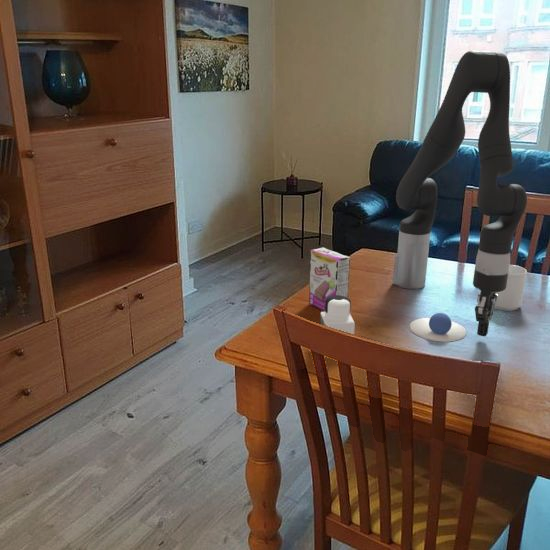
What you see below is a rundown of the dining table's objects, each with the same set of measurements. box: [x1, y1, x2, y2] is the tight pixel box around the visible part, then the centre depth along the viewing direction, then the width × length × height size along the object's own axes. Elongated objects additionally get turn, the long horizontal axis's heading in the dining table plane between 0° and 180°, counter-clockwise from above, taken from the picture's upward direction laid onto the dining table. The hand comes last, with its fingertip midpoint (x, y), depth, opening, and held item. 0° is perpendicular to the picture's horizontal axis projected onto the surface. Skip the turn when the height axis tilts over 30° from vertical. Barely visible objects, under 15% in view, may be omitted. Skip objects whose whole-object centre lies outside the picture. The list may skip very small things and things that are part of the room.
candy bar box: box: [308, 246, 351, 312], centre depth 154 cm, size 11×5×16 cm, turn 37°
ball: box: [429, 312, 452, 335], centre depth 141 cm, size 6×6×6 cm
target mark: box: [409, 317, 467, 343], centre depth 144 cm, size 14×14×1 cm
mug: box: [495, 264, 528, 312], centre depth 159 cm, size 12×9×11 cm
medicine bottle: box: [319, 295, 356, 335], centre depth 134 cm, size 7×7×12 cm
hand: (482, 334), depth 138 cm, fingers closed
